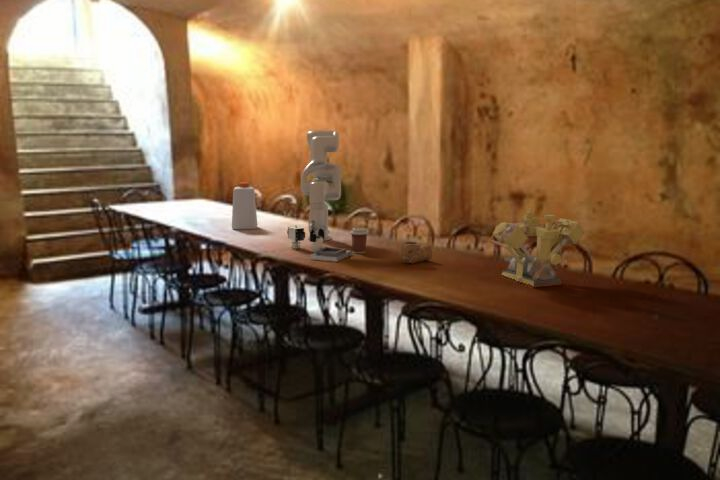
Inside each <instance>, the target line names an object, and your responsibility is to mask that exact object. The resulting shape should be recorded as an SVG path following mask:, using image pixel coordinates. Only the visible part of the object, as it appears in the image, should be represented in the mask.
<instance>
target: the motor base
mask: <svg viewBox="0 0 720 480" xmlns="http://www.w3.org/2000/svg"><path fill="white" fill-rule="evenodd" d="M350 256H352V250H347V248H339V247H329V246H325V247H324V246H323V248H322V249H320V250H317V251H315V252H313V253H312V254H310V255H309V260H310V261H311V260H313V261H324V262H334V263H337V262H340V261H342V260H344V259H346V258H348V257H350Z"/></svg>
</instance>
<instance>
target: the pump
mask: <svg viewBox="0 0 720 480" xmlns="http://www.w3.org/2000/svg"><path fill="white" fill-rule="evenodd" d="M322 248H324V241H323V237H321V236H320V235H316V242H311V252H312V253H315V251H317V250H320V249H322Z"/></svg>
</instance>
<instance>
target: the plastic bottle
mask: <svg viewBox="0 0 720 480" xmlns="http://www.w3.org/2000/svg"><path fill="white" fill-rule="evenodd" d="M232 191H233V192H232V213H231V215H232V216H231V229H233V230H235V229H236V230H237V231H247V230H248V231H250V230H251V231H252V229H253V230H255V229H257V228H258V216H257V204H256V191H255V187H253V186H250V183H249V182H248V181H246V182H239V183H238V186H235V187H234V188H233V190H232ZM236 230H235V231H236Z"/></svg>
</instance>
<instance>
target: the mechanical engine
mask: <svg viewBox="0 0 720 480" xmlns="http://www.w3.org/2000/svg"><path fill="white" fill-rule="evenodd" d="M556 218H557V217H556V215H554V214H544V217H535V211H532V210H531V207H529V208H528V211H524V217H521V219H520V221H519V222H513V223H512V222H506V221H505V222H500V223H499V224H497V225H495V229H494V231H493V232H492V234H491V236H490V237H489V238H488V242H489V243H491V244H494V245H497V246H500V247H504V248H505V249H506V250H507V252H508V253H509V254H510V255H511V256H512V257H508V256H504V257H503V260H504V261H505V262H510V263H509V265H508V267H507V269H503V270H502V272H501V275H504V276H506V277H509V278H512V279H515V280H516V281H520V282H523V283H526V284H530V285H532V286H536V285H547V284H557V283H561V284H562V280H561V278H560V277H558V276H557V273H556V270H555V271H554V268H553V267H552V266H551V264H553V265H555V266H557V265H558V264H560V263H561V262H562V255H561V254H559V252H560V251H561V250H562V249H563V248H564V246H565V245H566V244H571V245H576V244H577V243H579V244H581V243H583V240H582V239H581V238H582V237H583V235H584V234H585V233H586V230H585V229H584V227H583V226H582V224H581V223H580V222H578V221H575V220H571V219H569V218H563V217H562V218H561V217H560V218H559V219H558V220H556ZM552 220H553V221H552ZM538 221H546V222H545V224H543V223H539V222H538ZM494 237H495V239H496V240H493V239H494ZM529 237H536V255H532V254H531V253H530V252H529V251H528V250H527V247H526V245H525V244H524V243H525V242H527V240H528V238H529ZM529 277H531V278H529Z"/></svg>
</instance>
